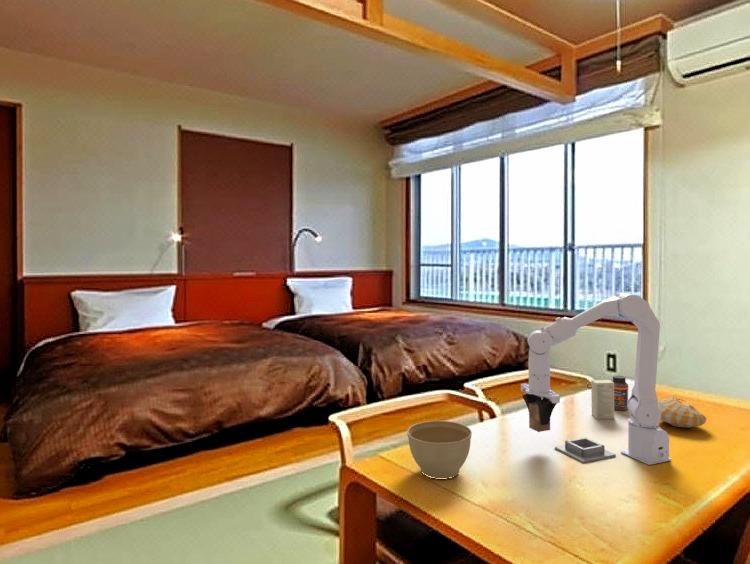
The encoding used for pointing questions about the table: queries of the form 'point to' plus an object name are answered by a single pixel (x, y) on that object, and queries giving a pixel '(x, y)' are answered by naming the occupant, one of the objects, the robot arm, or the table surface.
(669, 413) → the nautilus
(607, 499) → the table surface
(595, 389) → the skincare box
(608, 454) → the stand
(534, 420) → the walnut block
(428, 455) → the planter bowl
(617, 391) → the supplement bottle
